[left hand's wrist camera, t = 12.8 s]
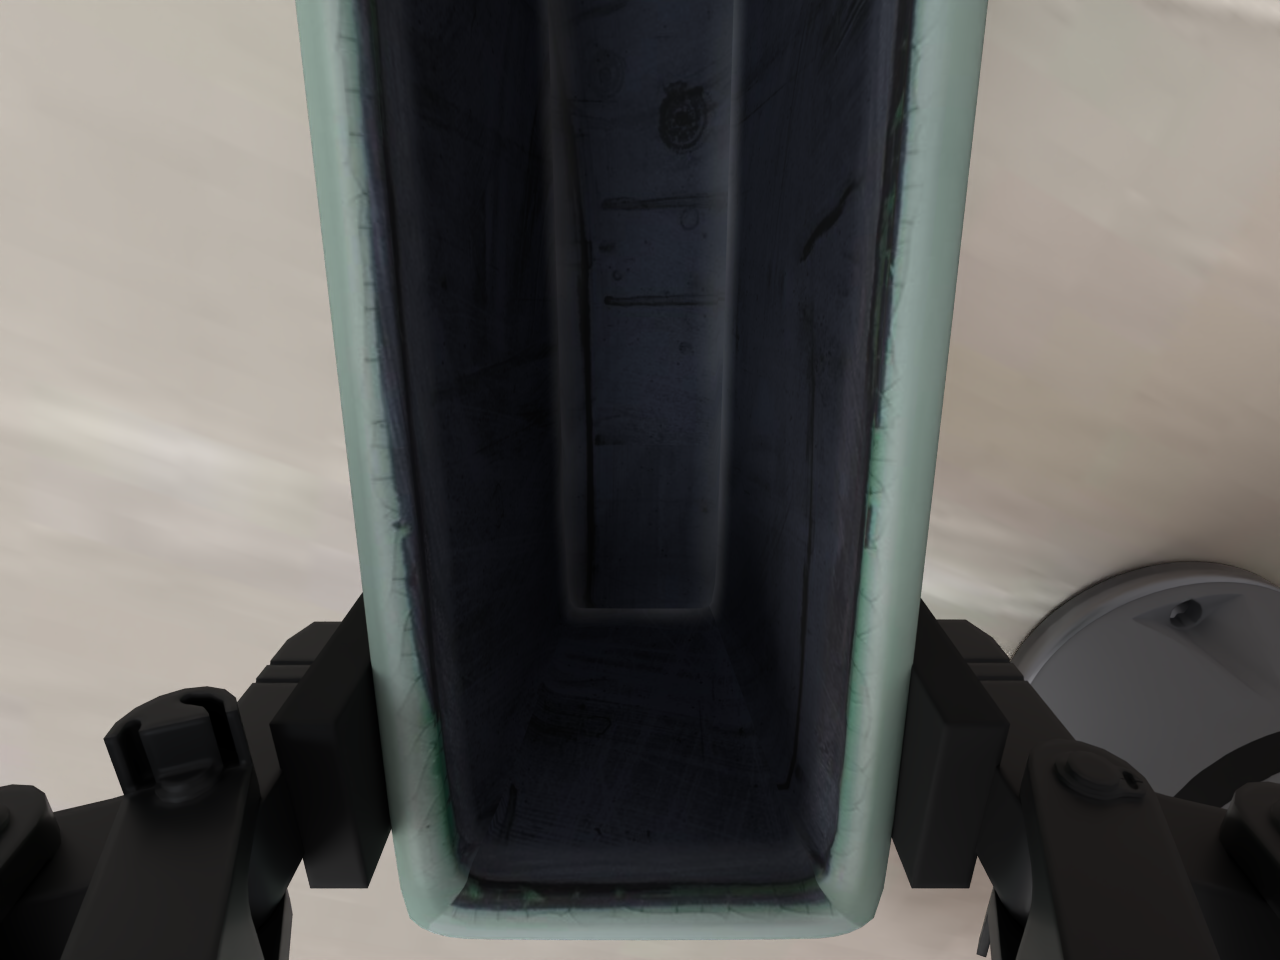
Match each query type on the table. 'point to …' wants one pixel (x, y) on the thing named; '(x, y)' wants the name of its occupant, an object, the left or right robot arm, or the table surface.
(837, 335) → the planter
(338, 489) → the table surface
